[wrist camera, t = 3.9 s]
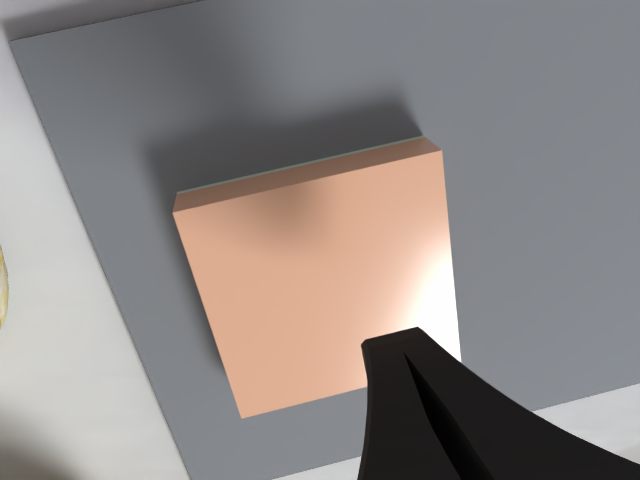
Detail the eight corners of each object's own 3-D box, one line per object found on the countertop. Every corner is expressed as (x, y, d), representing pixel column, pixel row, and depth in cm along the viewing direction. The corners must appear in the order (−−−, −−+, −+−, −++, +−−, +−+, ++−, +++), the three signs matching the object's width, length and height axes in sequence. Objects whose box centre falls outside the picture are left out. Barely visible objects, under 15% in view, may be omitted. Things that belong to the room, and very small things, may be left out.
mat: (710, -107, 14) (723, -110, 14) (656, 370, 21) (663, 377, 21) (13, 40, 13) (7, 41, 13) (199, 489, 20) (199, 498, 20)
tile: (442, 150, 14) (172, 212, 14) (461, 362, 17) (241, 418, 17) (423, 135, 16) (177, 192, 15) (444, 335, 19) (240, 386, 18)
